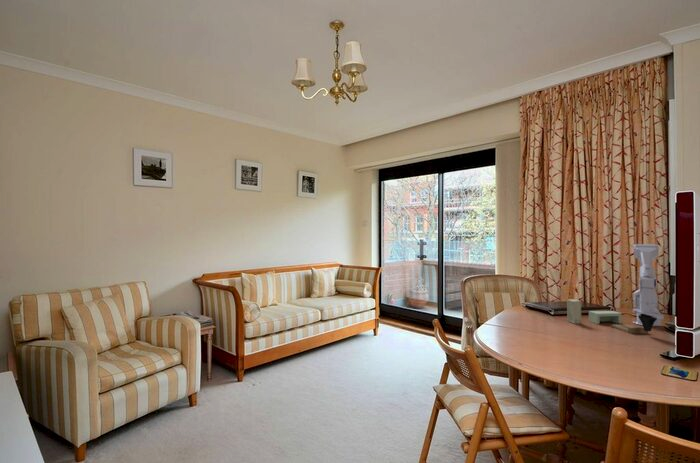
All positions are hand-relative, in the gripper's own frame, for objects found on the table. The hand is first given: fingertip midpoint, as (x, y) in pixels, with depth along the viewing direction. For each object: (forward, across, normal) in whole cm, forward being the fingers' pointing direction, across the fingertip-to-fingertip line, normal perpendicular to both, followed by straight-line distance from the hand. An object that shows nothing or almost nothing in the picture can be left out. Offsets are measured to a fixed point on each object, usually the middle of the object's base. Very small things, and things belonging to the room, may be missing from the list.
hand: (647, 331), depth 170 cm
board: (+3, -11, 0) cm, 11 cm away
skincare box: (+3, -27, -17) cm, 32 cm away
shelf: (+2, -26, 0) cm, 26 cm away
